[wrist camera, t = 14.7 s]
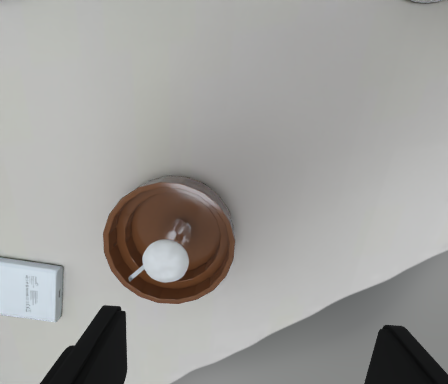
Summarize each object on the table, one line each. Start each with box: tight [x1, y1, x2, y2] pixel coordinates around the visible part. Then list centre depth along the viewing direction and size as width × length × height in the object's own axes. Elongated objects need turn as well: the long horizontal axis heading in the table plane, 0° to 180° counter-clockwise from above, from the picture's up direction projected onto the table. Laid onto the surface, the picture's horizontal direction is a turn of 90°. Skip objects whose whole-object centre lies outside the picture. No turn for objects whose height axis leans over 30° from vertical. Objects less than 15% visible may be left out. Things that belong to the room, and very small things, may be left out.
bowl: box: [103, 176, 235, 304], centre depth 30 cm, size 15×15×5 cm
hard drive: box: [0, 257, 63, 322], centre depth 34 cm, size 2×8×12 cm
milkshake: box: [128, 219, 191, 283], centre depth 27 cm, size 4×5×10 cm
